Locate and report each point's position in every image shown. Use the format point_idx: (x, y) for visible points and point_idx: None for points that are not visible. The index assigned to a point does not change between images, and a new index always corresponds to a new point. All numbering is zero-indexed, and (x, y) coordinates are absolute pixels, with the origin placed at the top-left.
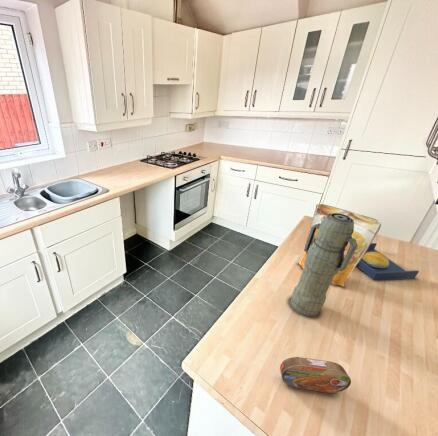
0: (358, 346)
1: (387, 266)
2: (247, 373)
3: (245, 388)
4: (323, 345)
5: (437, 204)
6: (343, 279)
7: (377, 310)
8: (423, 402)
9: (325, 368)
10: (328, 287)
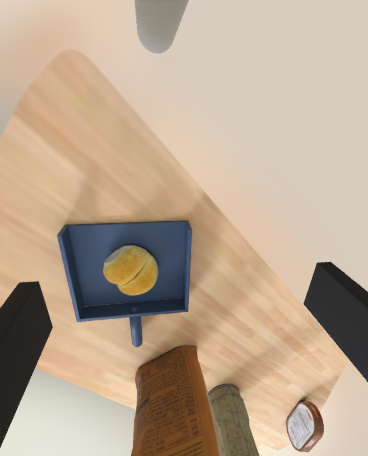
0: (280, 370)
1: (155, 260)
2: (276, 436)
3: (284, 437)
4: (271, 393)
5: (51, 325)
6: (196, 361)
7: (245, 329)
8: (334, 353)
9: (316, 442)
10: (254, 443)
